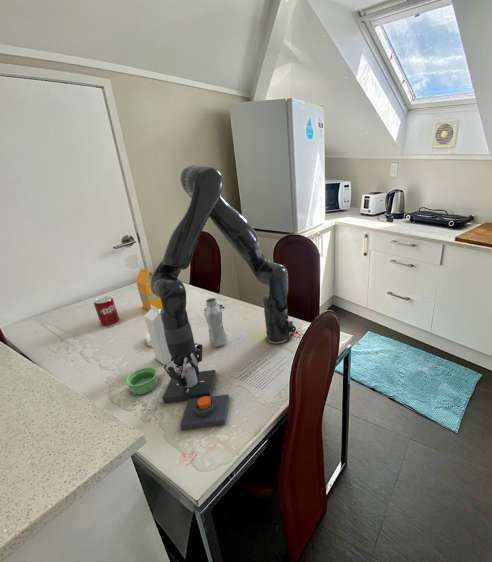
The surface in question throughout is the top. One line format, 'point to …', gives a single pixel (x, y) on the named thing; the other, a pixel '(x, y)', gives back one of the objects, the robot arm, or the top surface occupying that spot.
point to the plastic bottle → (215, 323)
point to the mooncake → (148, 339)
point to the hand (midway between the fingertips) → (189, 380)
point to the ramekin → (142, 380)
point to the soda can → (106, 311)
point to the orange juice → (147, 290)
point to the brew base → (190, 388)
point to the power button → (204, 403)
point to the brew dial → (190, 376)
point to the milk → (157, 335)
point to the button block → (205, 413)
